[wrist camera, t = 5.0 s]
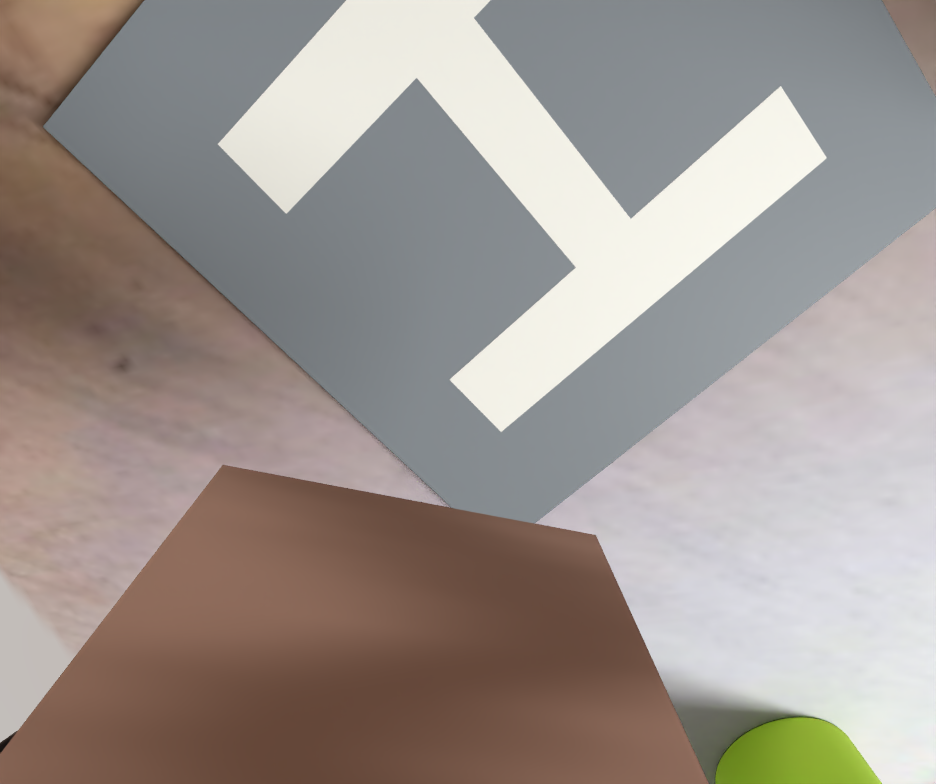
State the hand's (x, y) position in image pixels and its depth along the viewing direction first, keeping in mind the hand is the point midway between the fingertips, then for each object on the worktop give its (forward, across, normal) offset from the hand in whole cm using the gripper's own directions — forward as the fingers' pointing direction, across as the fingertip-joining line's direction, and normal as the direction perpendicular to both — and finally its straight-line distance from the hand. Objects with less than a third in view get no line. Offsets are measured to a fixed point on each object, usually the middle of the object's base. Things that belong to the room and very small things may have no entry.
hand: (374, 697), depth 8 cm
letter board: (+11, -2, -8) cm, 14 cm away
